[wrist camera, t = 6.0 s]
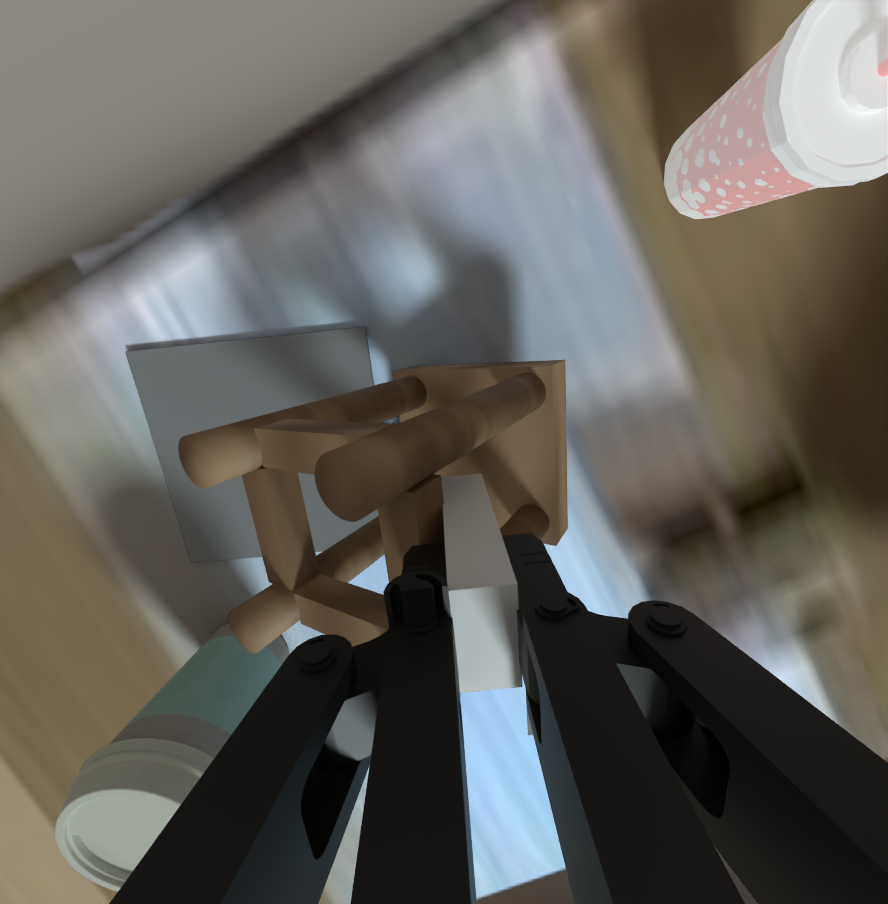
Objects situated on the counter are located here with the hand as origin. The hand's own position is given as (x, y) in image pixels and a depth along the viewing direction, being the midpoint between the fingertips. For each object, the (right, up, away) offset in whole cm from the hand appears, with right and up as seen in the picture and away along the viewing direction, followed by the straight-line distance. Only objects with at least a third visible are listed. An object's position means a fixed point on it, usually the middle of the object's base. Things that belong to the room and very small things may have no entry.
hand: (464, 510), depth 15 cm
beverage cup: (+13, +17, +7) cm, 22 cm away
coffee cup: (-15, -13, +16) cm, 25 cm away
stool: (+2, +3, +9) cm, 9 cm away
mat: (-12, +2, +11) cm, 16 cm away
